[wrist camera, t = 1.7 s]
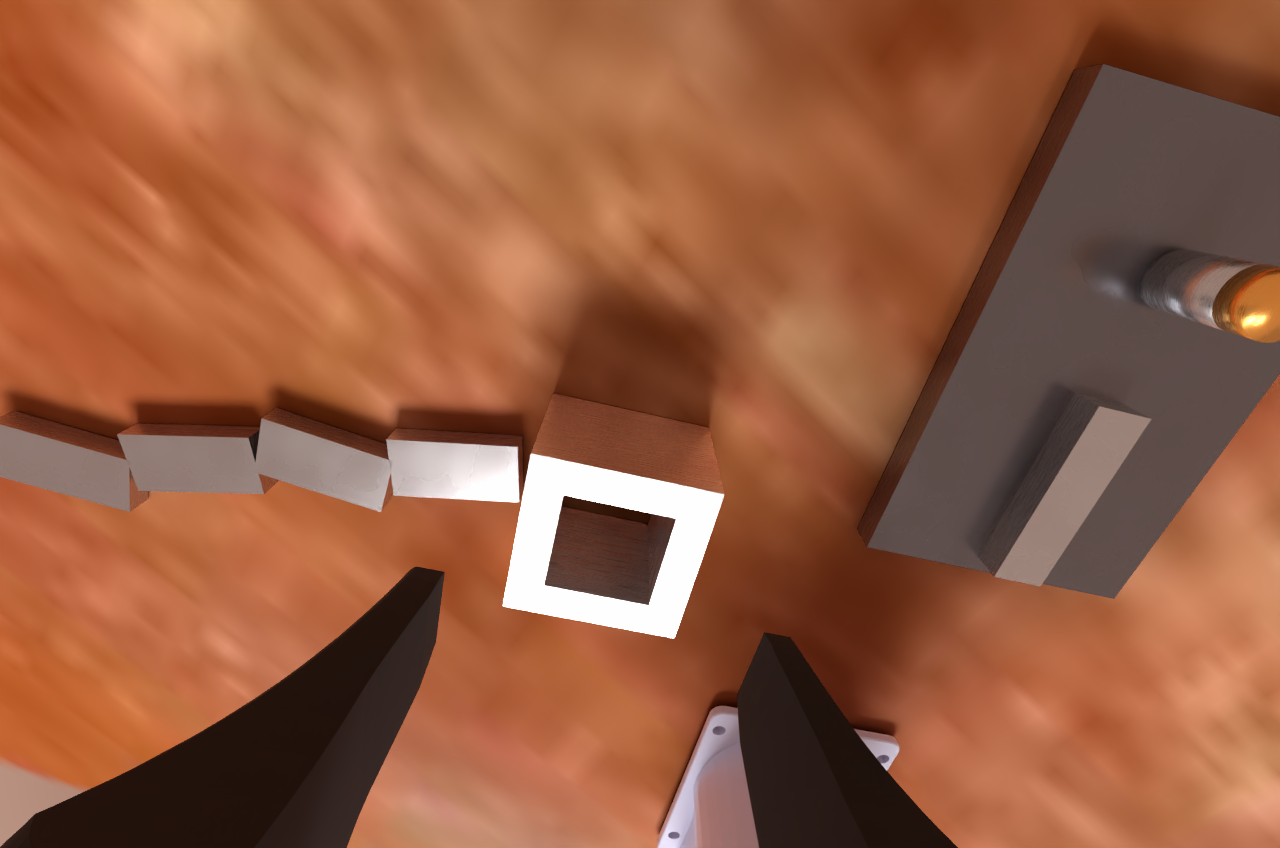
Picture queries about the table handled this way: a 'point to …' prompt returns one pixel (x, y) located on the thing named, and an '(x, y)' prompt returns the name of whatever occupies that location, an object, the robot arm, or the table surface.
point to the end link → (607, 546)
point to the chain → (259, 461)
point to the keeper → (1098, 342)
